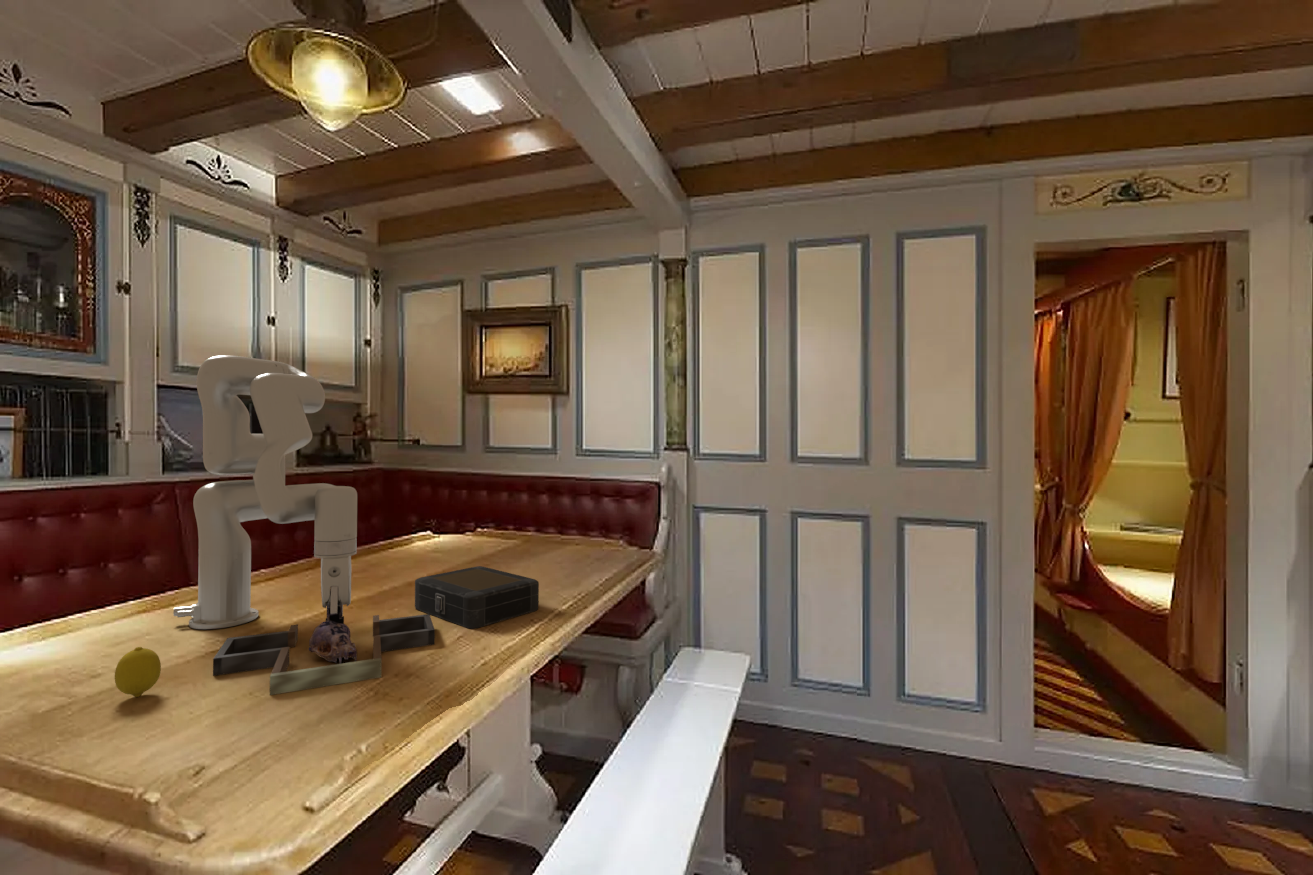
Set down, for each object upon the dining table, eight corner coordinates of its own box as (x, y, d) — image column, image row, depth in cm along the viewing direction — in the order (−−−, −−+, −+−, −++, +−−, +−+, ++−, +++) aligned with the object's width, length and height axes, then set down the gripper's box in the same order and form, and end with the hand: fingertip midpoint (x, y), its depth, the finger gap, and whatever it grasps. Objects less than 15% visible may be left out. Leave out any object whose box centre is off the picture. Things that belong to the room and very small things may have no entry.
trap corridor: (192, 707, 89) (192, 687, 89) (231, 647, 114) (231, 631, 114) (441, 667, 105) (441, 651, 105) (427, 622, 130) (427, 609, 130)
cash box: (409, 610, 140) (409, 578, 140) (480, 593, 156) (480, 564, 156) (469, 632, 125) (469, 597, 125) (541, 611, 141) (541, 579, 141)
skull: (367, 661, 108) (367, 629, 108) (321, 673, 102) (321, 638, 102) (347, 644, 116) (347, 614, 116) (303, 654, 111) (304, 622, 111)
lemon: (168, 692, 94) (169, 643, 94) (128, 707, 89) (128, 655, 89) (146, 687, 96) (147, 639, 96) (105, 701, 91) (106, 650, 91)
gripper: (356, 552, 111) (355, 647, 111) (357, 540, 125) (355, 624, 125) (311, 556, 108) (309, 653, 108) (316, 542, 121) (315, 629, 121)
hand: (334, 637), depth 116 cm, fingers closed
